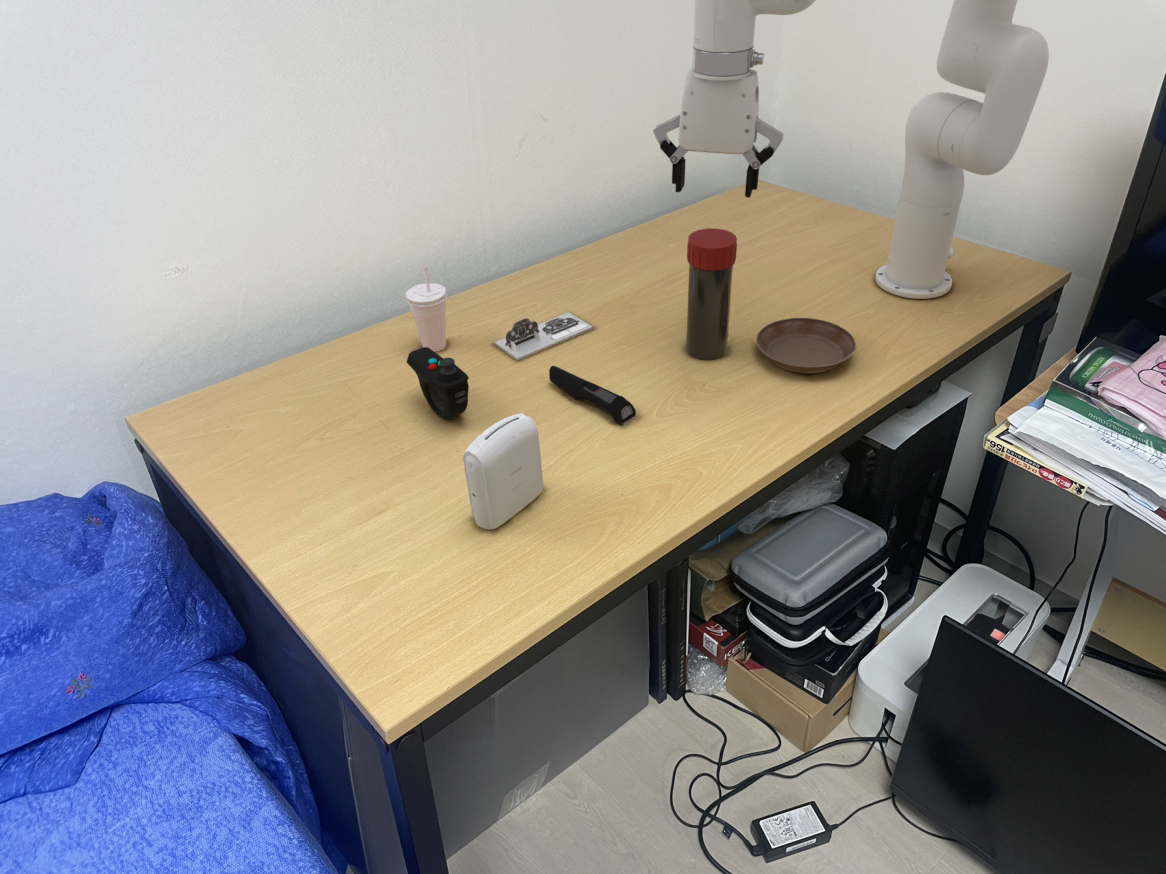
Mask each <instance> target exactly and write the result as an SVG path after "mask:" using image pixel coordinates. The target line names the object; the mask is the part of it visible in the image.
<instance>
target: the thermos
mask: <svg viewBox="0 0 1166 874" xmlns="http://www.w3.org/2000/svg"><path fill="white" fill-rule="evenodd" d="M733 270H734V264H733V265H732V266H731V267H729V268H727V269H723V270H717V271H708V270H701V269H698V268H695V267H693V266H691V265H690V264H689V263H688V283H687V285H688V286H687V288H688V289H687V309H686V310H687V313H686V336H685V337H686V338H685V351H686V353H687V354H688V355H689V356H690V357H692V358H695V359H697V360H703V361H712V360H717V359H720V358H723V357H724V356H725V355H727V352H728V343H729V327H730V317H731V316H730V315H731V301H732V300H731V299H732V287H733V286H732V285H733V273H734V271H733Z"/></svg>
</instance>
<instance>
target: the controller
mask: <svg viewBox="0 0 1166 874" xmlns="http://www.w3.org/2000/svg"><path fill="white" fill-rule="evenodd" d="M455 362H456V361H455V359H454V358H452V357H442V356H441V355H440V354H438V353H437V352H434V351H433V350H431V349H430V348H428V347H423V346H422V347H420V348H418V349H415V350H413V351H410V353H408V355H407V359H406V364H407V365H408V366H409V367H410V368H411V369H412V370H413V372H414V373H415V374H416V376H417V379H418V383H419V387H420V389H421V392H422V394H423V396H424V399H425V401H426V402H427V404H428V405H429V407H430V408H431V410H432V411H433V412H434V414H435V415H437V416H438V417H440V418H442V419H444V420H451V419H454V418H456V417H458V416H460V415H462V414H463V413H464V412H465V411H466V410H467V408H468V404H469V389H470V386H469V381H468V380H469V379H470V378H469V375H468V374H467V373H466V372H465V371H464V370H462V368H460V367H459V366H458V365H457V364H455Z"/></svg>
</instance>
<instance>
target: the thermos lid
mask: <svg viewBox="0 0 1166 874" xmlns="http://www.w3.org/2000/svg"><path fill="white" fill-rule="evenodd" d="M737 242H738V238H737V236H736V234H734V233H733V232H732V231H729V230H727V229H723V228H716V227H715V228H713V227H712V228H711V227H710V228H701V229H698V230H695V231H693V232H691V233H690V234H689V235H688V238H687V245H686V246H687V249H686V259H687V263H688V265H689V264H690V265H691V266H693V267H695V268H698V269H701V270H708V271H717V270H723V269H727V268H729V267H731V266H732V265H733V266H734V264H735V263H736V259H737V252H738V251H737V249H738V243H737Z"/></svg>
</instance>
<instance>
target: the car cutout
mask: <svg viewBox="0 0 1166 874" xmlns="http://www.w3.org/2000/svg"><path fill="white" fill-rule="evenodd" d="M592 330H594V326H592V325H590V324H589V323H588V322H586V321H584V320H582V319H581V318H579V317H577V316H576V315H574V314H573V313H571V312H565V313H563V314H560V315H558V316H555V317H553V318H550V319H547V320H545V321H543V322H540V323H538V322H537V321H535V320H533V321H531V320H530V319H529V318H523V319H521V320H518V321H516V322H514V323H513V325H512V327H511V330H508V331H507V332H506V335H505V337H503V338H501V339H498V340H496V341H494V343H493V344H494V345H495V346H496V347H497V348H499V349H500V350H502V351H503V352H504V353H506V354H507V355H509V356H510V357H511V358H512V359H514V360H515V361H516V362H517V361H520V360H523V359H526V358H528V357H530V356H533V355H535V354H537V353H540V352H542V351H544V350H546V349H547V350H548V349H549V348H552V347H554V346H556V345H559V344H561V343H564V342H566V341H569V340H570V339H571V340H572V339H573V338H575V337H578V336H580V335H582V334H585V333H587V332H590V331H592Z"/></svg>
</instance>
